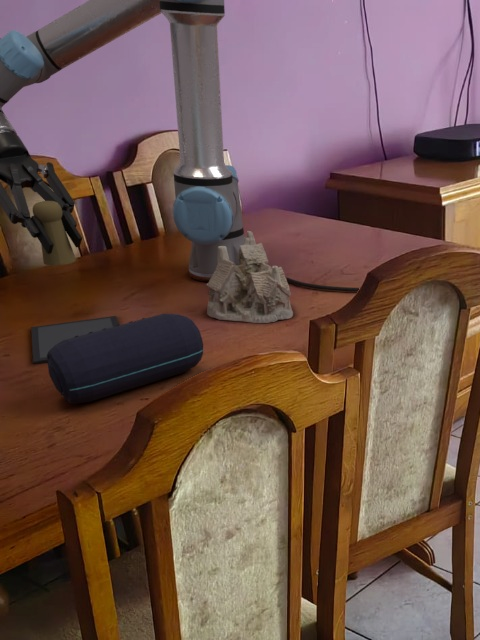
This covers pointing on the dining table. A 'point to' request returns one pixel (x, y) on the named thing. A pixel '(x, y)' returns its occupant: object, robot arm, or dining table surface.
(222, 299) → the ceramic cottage
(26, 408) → the dining table surface
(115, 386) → the portable speaker
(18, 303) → the dining table surface
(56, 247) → the cork
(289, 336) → the dining table surface
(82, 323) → the tablet computer
